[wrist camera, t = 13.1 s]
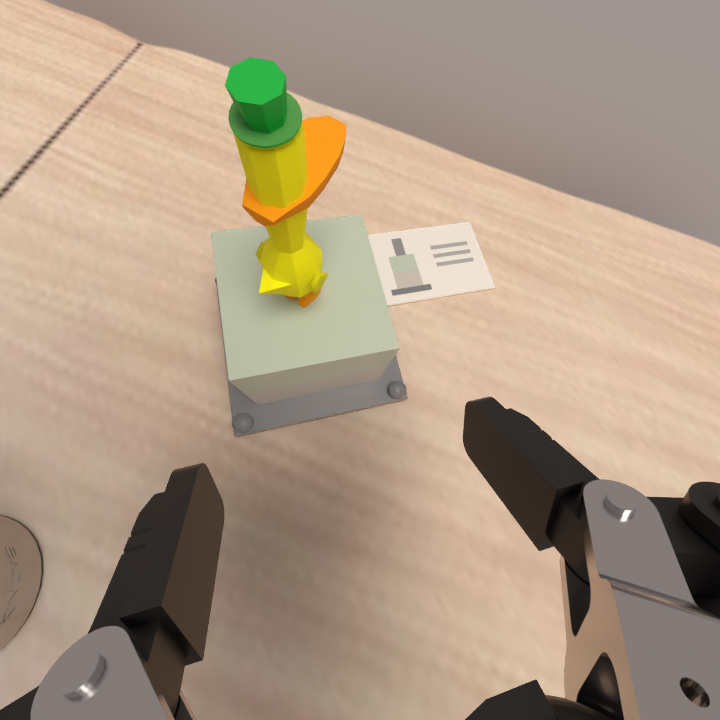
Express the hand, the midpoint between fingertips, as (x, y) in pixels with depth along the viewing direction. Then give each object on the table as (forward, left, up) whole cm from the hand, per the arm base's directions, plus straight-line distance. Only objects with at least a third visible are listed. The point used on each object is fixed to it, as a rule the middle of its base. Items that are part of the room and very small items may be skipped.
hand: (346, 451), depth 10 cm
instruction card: (+13, +16, -17) cm, 27 cm away
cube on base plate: (0, +10, -17) cm, 20 cm away
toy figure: (0, +10, -8) cm, 13 cm away
